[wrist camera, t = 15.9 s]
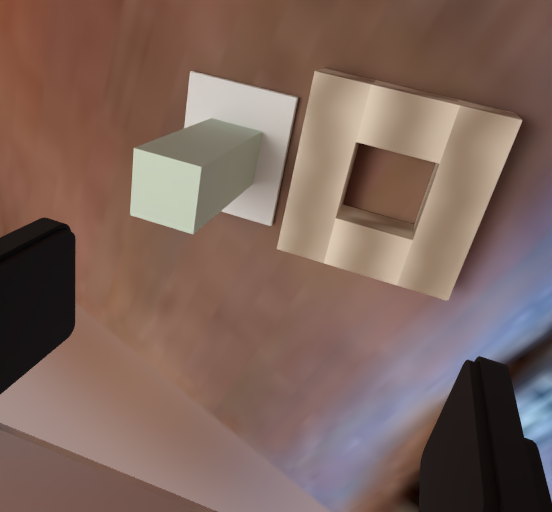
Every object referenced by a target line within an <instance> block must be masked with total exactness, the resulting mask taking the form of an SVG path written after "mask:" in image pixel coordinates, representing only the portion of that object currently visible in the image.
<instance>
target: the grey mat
mask: <svg viewBox="0 0 552 512" xmlns="http://www.w3.org/2000/svg"><path fill="white" fill-rule="evenodd" d="M298 98H299V97H297V96H293V95H289V94H285V93H281V92H277V91H273V90H269V89H265V88H261V87H257V86H252V85H248V84H244V83H240V82H236V81H232V80H228V79H224V78H220V77H216V76H212V75H208V74H204V73H200V72H196V71H190V78H189V88H188V98H187V107H186V117H185V127H184V128H187V127H189V126H192V125H194V124H197V123H200V122H202V121H205V120H207V119H210V118H213V119H217V120H221V121H224V122H228V123H232V124H236V125H240V126H243V127H247V128H251V129H255V130H259V131H262V137H261V143H260V148H259V154H258V160H257V166H256V171H255V177H254V183H253V184H252V185H251V186H250V187H249V188H248V189H246V190H245V191H244V192H243V193H242V194H241V195H239V196H238V197H237V198H236V199H235V200H233V201H232V202H231V203H230V204H229V205H228V206H226V207H225V208H224V209H223V210H222V211H221V212H225V213H228V214H232V215H235V216H238V217H242V218H245V219H248V220H252V221H255V222H259V223H262V224H265V225H269V226H272V224H273V221H274V216H275V211H276V206H277V201H278V196H279V191H280V187H281V182H282V177H283V172H284V167H285V162H286V157H287V152H288V147H289V142H290V137H291V133H292V128H293V123H294V118H295V113H296V108H297V103H298Z"/></svg>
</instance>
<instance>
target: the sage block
mask: <svg viewBox="0 0 552 512" xmlns="http://www.w3.org/2000/svg"><path fill="white" fill-rule="evenodd" d="M261 137H262V131H259V130H255V129H251V128H247V127H243V126H240V125H236V124H232V123H228V122H224V121H221V120H217V119H213V118H210V119H207V120H205V121H202V122H200V123H197V124H194V125H192V126H189V127H187V128H184V129H182V130H179V131H176V132H174V133H171V134H169V135H166V136H164V137H161V138H158V139H156V140H153V141H151V142H148V143H145V144H143V145H140V146H138V147H135V148H134V156H133V174H132V191H131V209H130V215H132V216H135V217H138V218H142V219H145V220H148V221H151V222H155V223H158V224H161V225H164V226H168V227H171V228H174V229H177V230H181V231H184V232H187V233H190V234H194V233H195V232H197V231H198V230H199V229H200V228H201V227H203V226H204V225H205V224H206V223H207V222H209V221H210V220H211V219H212V218H213V217H214V216H216V215H217V214H218V213H219V212H220V211H222V210H223V209H224V208H225V207H226V206H228V205H229V204H230V203H231V202H232V201H233V200H235V199H236V198H237V197H238V196H239V195H241V194H242V193H243V192H244V191H245V190H246V189H248V188H249V187H250V186H251V185H252V184H253V183H254V177H255V171H256V166H257V160H258V154H259V148H260V143H261Z"/></svg>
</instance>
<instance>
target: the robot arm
mask: <svg viewBox="0 0 552 512" xmlns="http://www.w3.org/2000/svg"><path fill="white" fill-rule="evenodd" d="M74 326H75V235H74V234H73V233H72V232H71V230H70V227H69V226H68V225H67V224H64V223H61V222H58V221H55V220H52V219H48V218H41V219H39V220H36V221H34V222H32V223H30V224H28V225H26V226H24V227H22V228H20V229H17V230H15V231H13V232H11V233H9V234H7V235H5V236H3V237H1V238H0V394H1V393H2V392H4V391H5V390H6V389H7V388H8V387H10V386H11V385H12V384H13V383H15V382H16V381H17V380H18V379H19V378H20V377H22V376H23V375H24V374H25V373H26V372H28V371H29V370H30V369H31V368H32V367H34V366H35V365H36V364H37V363H38V362H40V361H41V360H42V359H43V358H44V357H46V356H47V355H48V354H49V353H50V352H51V351H52V350H54V349H55V348H56V347H58V346H59V345H60V344H61V343H62V342H63V341H65V340H66V339H67V338H68V337H69V336H70V335H71V333H72V331H73V329H74ZM0 512H217V511H215V510H212V509H210V508H207V507H205V506H202V505H200V504H198V503H195V502H193V501H190V500H188V499H186V498H183V497H181V496H178V495H176V494H174V493H171V492H169V491H166V490H164V489H161V488H159V487H156V486H154V485H152V484H149V483H147V482H144V481H142V480H139V479H137V478H135V477H132V476H130V475H127V474H124V473H122V472H120V471H117V470H115V469H113V468H110V467H107V466H105V465H103V464H100V463H98V462H95V461H93V460H90V459H88V458H85V457H83V456H81V455H78V454H76V453H73V452H71V451H68V450H66V449H63V448H61V447H59V446H56V445H53V444H51V443H49V442H46V441H44V440H41V439H38V438H36V437H34V436H31V435H29V434H26V433H24V432H21V431H19V430H17V429H14V428H12V427H9V426H7V425H4V424H1V423H0ZM419 512H552V502H551V498H550V494H549V490H548V486H547V482H546V478H545V474H544V470H543V466H542V462H541V458H540V454H539V450H538V447H537V445H536V443H535V442H534V441H532V440H530V439H527V438H524V435H523V431H522V426H521V422H520V417H519V413H518V408H517V404H516V399H515V395H514V390H513V386H512V381H511V377H510V372H509V368H508V366H507V365H505V364H502V363H499V362H496V361H492V360H489V359H486V358H483V357H480V356H479V357H477V358H476V360H475V361H474V362H473V361H470V360H466V361H465V362H464V364H463V366H462V368H461V371H460V373H459V375H458V377H457V379H456V381H455V384H454V386H453V388H452V390H451V392H450V394H449V396H448V399H447V401H446V403H445V405H444V407H443V409H442V412H441V414H440V416H439V418H438V420H437V422H436V425H435V427H434V429H433V431H432V433H431V435H430V437H429V440H428V442H427V444H426V446H425V448H424V451H423V454H422V458H421V465H420V496H419Z"/></svg>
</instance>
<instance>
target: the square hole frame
mask: <svg viewBox="0 0 552 512" xmlns="http://www.w3.org/2000/svg"><path fill="white" fill-rule="evenodd" d="M522 121H523V120H522V119H521V118H520V117H519V116H518V115H517V114H516V113H515V112H510V111H506V110H502V109H498V108H493V107H489V106H485V105H481V104H476V103H472V102H468V101H464V100H459V99H455V98H451V97H447V96H442V95H438V94H434V93H430V92H425V91H421V90H417V89H412V88H408V87H404V86H400V85H395V84H391V83H387V82H383V81H378V80H374V79H370V78H366V77H361V76H357V75H353V74H349V73H344V72H340V71H336V70H332V69H327V68H323V69H320V70H317V71H315V72H314V77H313V82H312V86H311V91H310V96H309V101H308V105H307V110H306V115H305V119H304V124H303V129H302V133H301V138H300V143H299V147H298V152H297V157H296V162H295V166H294V171H293V176H292V180H291V185H290V190H289V194H288V199H287V204H286V209H285V213H284V218H283V223H282V227H281V232H280V237H279V241H278V246H277V249H279V250H282V251H285V252H289V253H292V254H295V255H299V256H302V257H305V258H308V259H312V260H315V261H318V262H322V263H325V264H328V265H331V266H335V267H338V268H341V269H345V270H348V271H351V272H354V273H358V274H361V275H364V276H368V277H371V278H374V279H377V280H381V281H384V282H387V283H391V284H394V285H397V286H400V287H404V288H407V289H410V290H414V291H417V292H420V293H423V294H427V295H430V296H433V297H437V298H440V299H443V300H446V301H448V300H449V297H450V295H451V292H452V290H453V287H454V285H455V283H456V280H457V278H458V275H459V273H460V271H461V268H462V266H463V263H464V261H465V258H466V256H467V254H468V251H469V249H470V246H471V244H472V242H473V239H474V237H475V234H476V232H477V229H478V227H479V225H480V222H481V220H482V217H483V215H484V213H485V210H486V208H487V205H488V203H489V200H490V198H491V196H492V193H493V191H494V188H495V186H496V184H497V181H498V179H499V176H500V174H501V171H502V169H503V167H504V164H505V162H506V159H507V157H508V155H509V152H510V150H511V147H512V145H513V142H514V140H515V138H516V135H517V133H518V130H519V128H520V126H521V123H522ZM359 143H362V144H365V145H369V146H373V147H377V148H381V149H385V150H389V151H392V152H396V153H400V154H404V155H408V156H412V157H416V158H420V159H423V160H427V161H431V162H435V163H436V164H435V167H434V169H433V172H432V175H431V178H430V181H429V184H428V187H427V190H426V192H425V195H424V198H423V201H422V204H421V207H420V210H419V213H418V215H417V218H416V221H415V224H411V223H408V222H404V221H400V220H397V219H393V218H390V217H386V216H383V215H379V214H376V213H372V212H368V211H365V210H361V209H358V208H354V207H351V206H347V205H344V204H343V202H344V199H345V195H346V191H347V187H348V184H349V180H350V176H351V173H352V169H353V165H354V161H355V158H356V154H357V150H358V147H359Z"/></svg>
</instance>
